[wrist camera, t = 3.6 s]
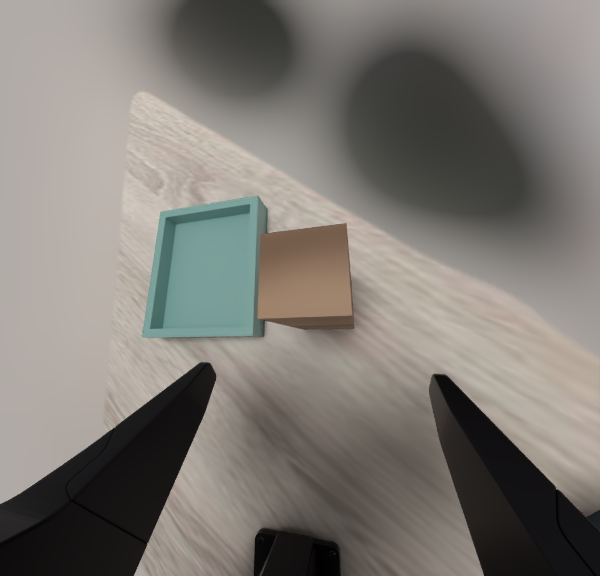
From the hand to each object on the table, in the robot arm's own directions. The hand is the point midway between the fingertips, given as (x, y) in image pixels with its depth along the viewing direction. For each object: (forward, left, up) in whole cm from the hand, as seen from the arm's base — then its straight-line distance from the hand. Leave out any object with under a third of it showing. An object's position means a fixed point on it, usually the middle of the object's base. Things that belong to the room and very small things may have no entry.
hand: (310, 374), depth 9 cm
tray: (+9, +12, -11) cm, 19 cm away
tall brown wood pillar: (+5, 0, -11) cm, 12 cm away
